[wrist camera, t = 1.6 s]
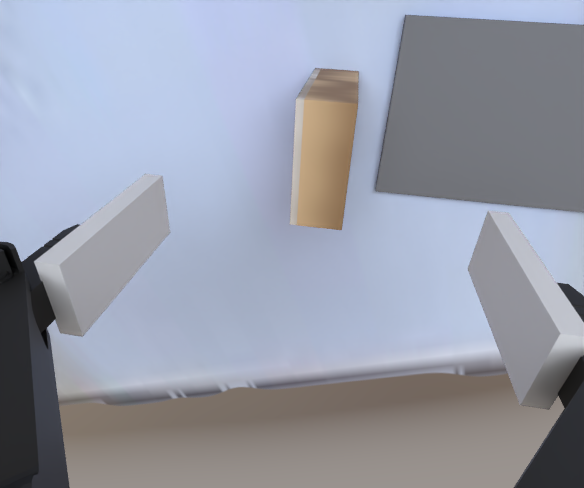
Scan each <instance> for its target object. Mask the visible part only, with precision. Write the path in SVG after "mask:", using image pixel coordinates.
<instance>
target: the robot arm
mask: <svg viewBox="0 0 584 488" xmlns="http://www.w3.org/2000/svg"><path fill="white" fill-rule="evenodd" d="M169 233H170V227H169V220H168V213H167V206H166V198H165V191H164V184H163V176H160V175H151V174H144V175H143V176H142V177H141V178H139V179H138V180H137V181H135V182H134V183H133V184H132V185H130V186H129V187H128V188H127V189H125V190H124V191H123V192H121V193H120V194H119V195H118V196H116V197H115V198H114V199H113V200H111V201H110V202H109V203H108V204H106V205H105V206H104V207H102V208H101V209H100V210H99V211H97V212H96V213H95V214H94V215H92V216H91V217H90V218H89V219H87V220H86V221H85V222H83V223H82V224H81V225H78V224H77V225H75V226H73V227H70V228H68V229H66V230H63V231H62V232H61V233H59V234H58V235H57V236H55V237H54V238H53V240H50V241H49V242H48V243H46V244H45V245H44V247H41V248H40V249H38V250H37V251H36V252H34V253H33V254H32V255H30V256H29V257H28V258H27V259H25V260H24V261H23V262H21V261H20V258H19V255H18V253H17V250H16V248H15V246H14V245H13V244H11V243H8V242H0V488H69V481H68V473H67V465H66V457H65V450H64V442H63V434H62V426H61V419H60V411H59V403H58V395H57V388H56V380H55V372H54V364H53V357H52V349H51V341H50V335H49V333H48V330H47V327H48V326H49V325H50V324H51V323H52V322H53V321H54V320H56V323H57V326H58V328H59V331H60V333H63V334H69V335H75V336H82V337H83V336H84V335H85V333H86V332H87V331H88V330H89V329H90V327H91V326H92V325H93V324H94V323H95V321H96V320H97V319H98V318H99V317H100V315H101V314H102V313H103V312H104V311H105V310H106V308H107V307H108V306H109V305H110V304H111V302H112V301H113V300H114V299H115V298H116V296H117V295H118V294H119V293H120V292H121V290H122V289H123V288H124V287H125V286H126V284H127V283H128V282H129V281H130V280H131V279H132V277H133V276H134V275H135V274H136V273H137V271H138V270H139V269H140V268H141V267H142V265H143V264H144V263H145V262H146V261H147V259H148V258H149V257H150V256H151V255H152V253H153V252H154V251H155V250H156V249H157V248H158V246H159V245H160V244H161V243H162V242H163V240H164V239H165V238H166V237H167V236H168V234H169ZM468 271H469V274H470V276H471V279H472V282H473V284H474V287H475V289H476V292H477V294H478V297H479V300H480V302H481V305H482V307H483V310H484V313H485V315H486V318H487V320H488V323H489V326H490V328H491V331H492V333H493V336H494V339H495V341H496V344H497V346H498V349H499V351H500V354H501V357H502V359H503V362H504V364H505V367H506V370H507V372H508V375H509V377H510V380H511V382H512V385H513V388H514V390H515V393H516V396H517V398H518V401H519V403H520V405H522V406H529V407H536V408H542V409H548V410H549V409H550V407H551V406H552V404H553V403H554V401H555V400H556V398H557V397H558V396H559V398H560V399H561V402H562V404H563V406H564V408H565V409H564V411H563V412H562V414H561V415H560V417H559V418H558V420H557V421H556V423H555V424H554V426H553V427H552V429H551V431H550V432H549V434H548V435H547V437H546V438H545V440H544V441H543V443H542V445H541V446H540V448H539V449H538V451H537V452H536V454H535V455H534V457H533V459H532V460H531V462H530V463H529V465H528V466H527V468H526V469H525V471H524V473H523V474H522V476H521V477H520V479H519V480H518V482H517V483H516V485H515V487H514V488H584V296H583V295H582V294H581V293H579V292H578V291H577V290H575V289H574V288H573V287H571V286H570V285H569V284H563V283H556V281H555V280H554V278H553V277H552V275H551V274H550V272H549V271H548V269H547V268H546V267H545V265H544V264H543V262H542V261H541V259H540V258H539V256H538V255H537V253H536V252H535V250H534V249H533V247H532V246H531V245H530V243H529V242H528V240H527V239H526V237H525V236H524V234H523V233H522V231H521V230H520V228H519V227H518V225H517V224H516V223H515V221H514V220H513V218H512V217H511V215H510V214H509V213H506V212H496V211H488V212H487V215H486V218H485V221H484V224H483V226H482V229H481V232H480V235H479V238H478V241H477V244H476V246H475V249H474V252H473V255H472V258H471V261H470V264H469V267H468Z"/></svg>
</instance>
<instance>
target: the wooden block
mask: <svg viewBox="0 0 584 488" xmlns="http://www.w3.org/2000/svg"><path fill="white" fill-rule="evenodd" d="M358 76H359V71H348V70H334V69H320V68H315V70H314V71H313V73H312V74H311V76H310V78H309V79H308V81H307V82H306V84H305V85H304V87H303V89H302V90H301V92H300V93H299V95H298V97H297V98H296V110H295V130H294V151H293V171H292V192H291V212H290V224H291V225H300V226H309V227H318V228H327V229H336V230H342V223H343V216H344V208H345V200H346V193H347V185H348V177H349V170H350V162H351V154H352V147H353V139H354V131H355V124H356V116H357V109H358Z"/></svg>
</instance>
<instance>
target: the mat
mask: <svg viewBox="0 0 584 488" xmlns="http://www.w3.org/2000/svg"><path fill="white" fill-rule="evenodd" d="M376 191H378V192H388V193H398V194H408V195H418V196H427V197H437V198H447V199H457V200H467V201H477V202H487V203H497V204H507V205H516V206H526V207H536V208H546V209H556V210H566V211H576V212H584V25H574V24H556V23H539V22H521V21H504V20H486V19H469V18H451V17H434V16H416V15H405V21H404V26H403V32H402V38H401V44H400V50H399V55H398V61H397V67H396V73H395V78H394V84H393V90H392V96H391V102H390V107H389V113H388V119H387V125H386V131H385V136H384V142H383V148H382V154H381V160H380V165H379V171H378V177H377V183H376Z"/></svg>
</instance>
